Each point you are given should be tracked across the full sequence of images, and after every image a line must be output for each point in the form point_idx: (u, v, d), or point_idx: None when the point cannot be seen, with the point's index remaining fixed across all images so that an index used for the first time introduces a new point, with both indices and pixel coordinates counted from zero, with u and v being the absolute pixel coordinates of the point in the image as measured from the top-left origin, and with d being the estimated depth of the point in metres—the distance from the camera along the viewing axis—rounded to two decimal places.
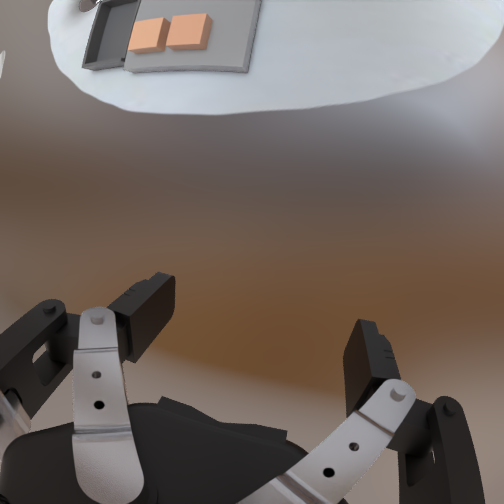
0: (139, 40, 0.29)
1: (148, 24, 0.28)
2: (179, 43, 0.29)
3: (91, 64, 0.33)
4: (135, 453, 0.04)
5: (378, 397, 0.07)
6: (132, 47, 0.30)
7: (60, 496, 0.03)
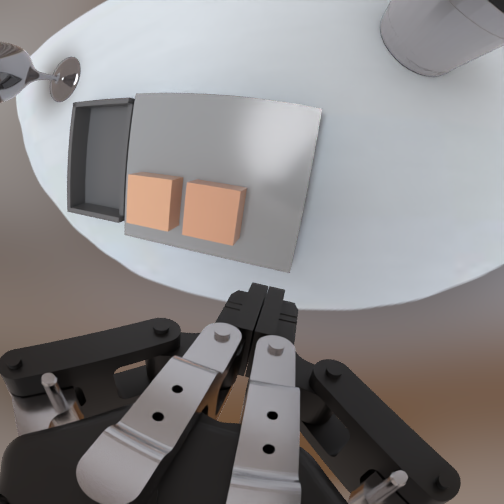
0: (141, 212, 0.27)
1: (150, 186, 0.26)
2: (202, 237, 0.26)
3: (79, 212, 0.31)
4: (135, 453, 0.04)
5: (260, 359, 0.08)
6: (133, 220, 0.27)
7: (60, 496, 0.03)
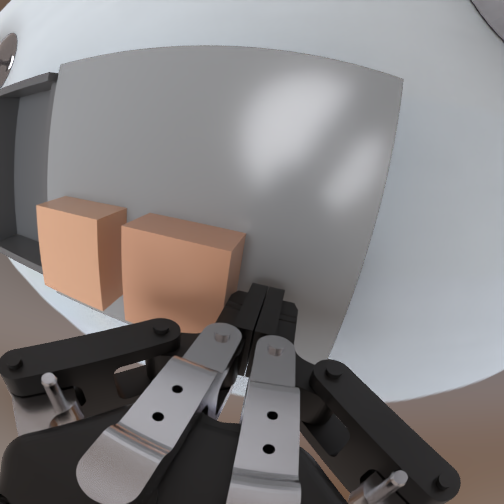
0: (60, 272, 0.13)
1: (66, 230, 0.12)
2: None
3: (3, 251, 0.17)
4: (135, 453, 0.04)
5: (260, 359, 0.08)
6: (52, 283, 0.14)
7: (60, 496, 0.03)
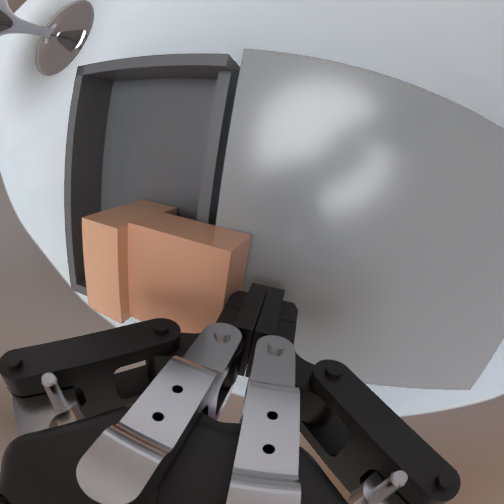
0: None
1: None
2: None
3: None
4: (135, 453, 0.04)
5: (260, 359, 0.08)
6: None
7: (60, 496, 0.03)
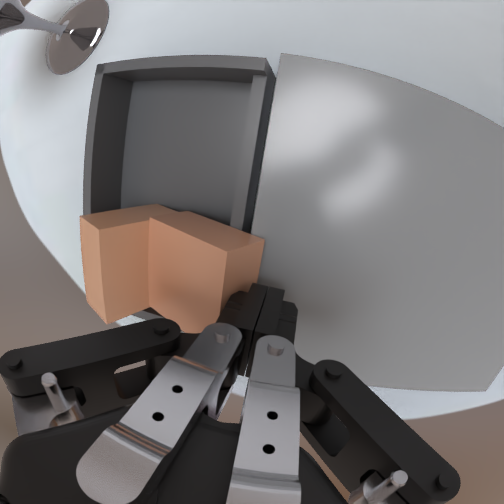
0: None
1: None
2: None
3: None
4: (135, 453, 0.04)
5: (260, 359, 0.08)
6: None
7: (60, 496, 0.03)
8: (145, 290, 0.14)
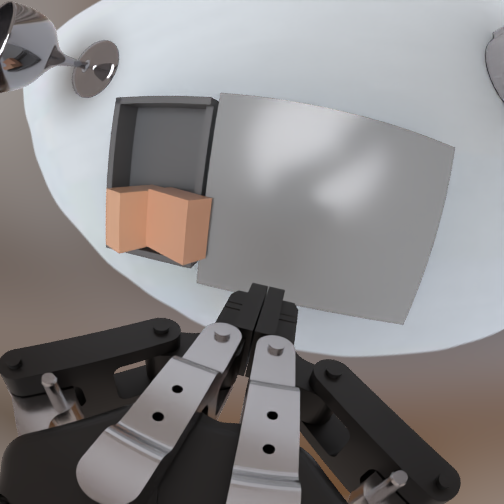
0: None
1: None
2: (159, 250, 0.23)
3: None
4: (135, 453, 0.04)
5: (260, 359, 0.08)
6: None
7: (60, 496, 0.03)
8: (144, 234, 0.23)
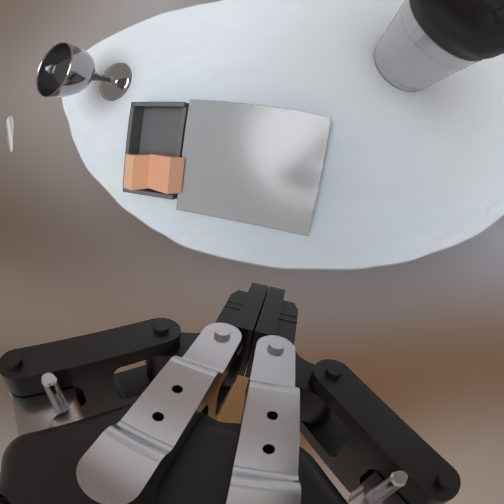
0: None
1: None
2: (155, 188, 0.38)
3: (135, 191, 0.40)
4: (135, 453, 0.04)
5: (260, 359, 0.08)
6: None
7: (60, 496, 0.03)
8: (146, 180, 0.39)
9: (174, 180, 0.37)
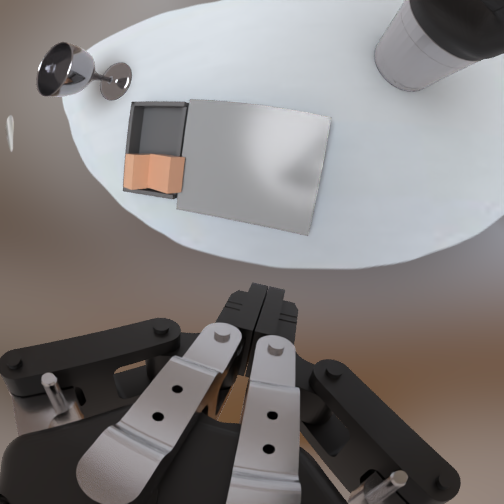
0: None
1: None
2: (155, 188, 0.38)
3: (135, 191, 0.40)
4: (135, 453, 0.04)
5: (260, 359, 0.08)
6: None
7: (60, 496, 0.03)
8: (146, 180, 0.39)
9: (174, 180, 0.37)
